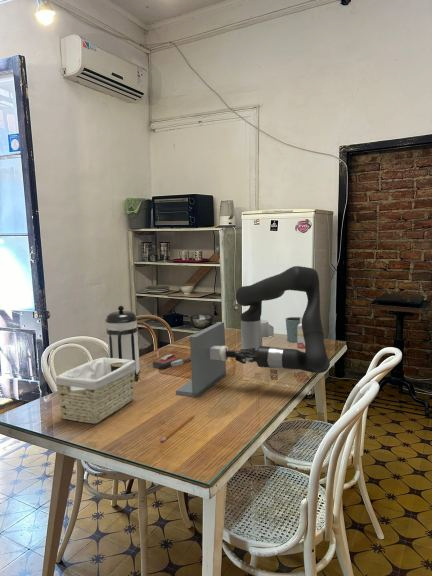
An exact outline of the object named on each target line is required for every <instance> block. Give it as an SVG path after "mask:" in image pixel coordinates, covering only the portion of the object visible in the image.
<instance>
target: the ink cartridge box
mask: <svg viewBox="0 0 432 576" xmlns="http://www.w3.org/2000/svg"><path fill="white" fill-rule="evenodd" d="M302 318H303V317H302ZM302 318H300V324H299V325H298V328H297V343H296V344H297V346H296V347H297V349H305V341H304V336H303V330H302Z"/></svg>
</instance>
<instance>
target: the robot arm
mask: <svg viewBox="0 0 432 576" xmlns="http://www.w3.org/2000/svg"><path fill="white" fill-rule="evenodd" d="M286 291H294V292H295V291H297V292H305V293H306V297H307V304H306V307H305V311H304V312H303V314H302V330H303V336H304V341H305V352H304V351H302V350H300V349H296V348H295V349H294V348H286V347H285V348H283V347H280V346H263V339H262V336H261V320H262V319H261V317H262V312H263V311H262V309H263V308H262V307H263V305H262V303H263V301H270V300H271V301H272V300H275V299H278V298H281V297H282V296H283V295H284V293H285V292H286ZM320 297H321V293H320V278H319V274H318V272H317V270H316V269H314V268H312V267H306V266H301V265H300V266H299V265H295V266H291V267H288V268H287V269H286V270H283V272H280V273H279V274H274V275H273V276H269V277H267V278H264V279H262V280H259V281H256V282H255V283H253V284H250V285H242V286H240V287H239V288H237V290H236V293H235V300H236V302H237V303H238V305H239V306H242V307H248V308H247V309H246V310H245V311H244V312H242V313H241V314H240V335H241V336H240V338H241V340H240V342H241V347H240V348H241V349H240V350H239V349H238V350H230V349H229V350H228V351H227V352H226V357H228V358H230V359H231V358H233V359H235V361H236V362H239V363H241V364H244V365H245V364H247V362H248V363H250V364H251V363H255V362H256V364H257V366H258V367H259V368H267V369H268V368H269V369H286V370H297V371H298V370H300V371H303V372H309V373H313V374H314V373H315V374H322V373H325V372H327V371H328V370H329V368H330V365H331V362H330V361H331V360H330V359H329V357H328V355H327V351H326V346H325V334H324V329H323V323H322V318H321V298H320Z"/></svg>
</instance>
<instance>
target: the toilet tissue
mask: <svg viewBox="0 0 432 576" xmlns="http://www.w3.org/2000/svg"><path fill="white" fill-rule="evenodd" d="M274 329H275V328H274V326H272V325H271V324H269V321H268V320H267V319H266V320H265V319H261V336H262V338H263V337H269V336H273V335H274V336H275V334H274V332H275V330H274ZM274 336H273V337H274ZM263 339H264V338H263Z"/></svg>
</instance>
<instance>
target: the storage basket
mask: <svg viewBox="0 0 432 576" xmlns="http://www.w3.org/2000/svg"><path fill="white" fill-rule="evenodd" d="M111 366H112V367H120V368H119V369H117V370H115V371H113V372H111ZM135 369H136V367H135V361H134V360H126V359H115V358H109V357H100V358H96V359H93V360H90V361H88V362H86V363H84V364H81V365H78V366H76V367H73V368H71V369H68V370H66V371H64V372H63V373H62V372H61V373H60V374H59V375H57V376H56V377H55V384H56V390H57V395H58V401H59V402H58V403H59V406H60V407H59V408H60V415H61V417H62V419H64V420H69V421H74V422H80V423H86V424H98V423H100V422H102V421H103V420H104V419H105V418H107V417H109V416H111V415H112V414H113V413H114V412H117V411H118V410H120V409H122V408H123V407H125V406H126V405H128V404H129V403H130V402H131V401H133V400H134V399H135V398H134V395H135V394H134V391H135V381H134V377H135Z"/></svg>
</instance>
